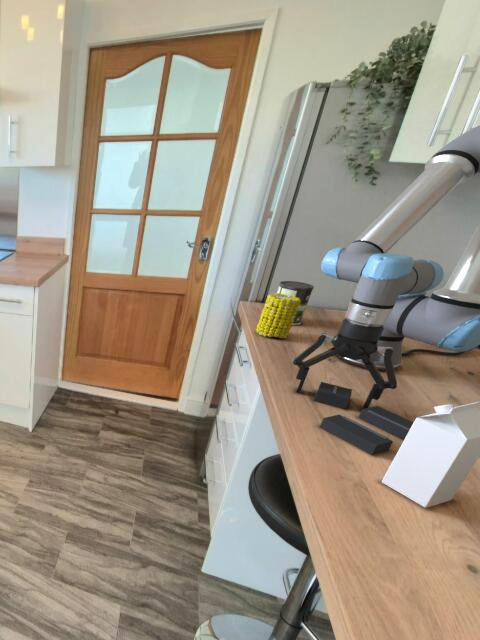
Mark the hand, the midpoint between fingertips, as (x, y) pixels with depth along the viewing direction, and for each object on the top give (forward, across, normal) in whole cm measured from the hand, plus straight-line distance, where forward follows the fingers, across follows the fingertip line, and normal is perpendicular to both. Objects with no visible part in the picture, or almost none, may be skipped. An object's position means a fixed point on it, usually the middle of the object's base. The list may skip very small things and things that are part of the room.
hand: (330, 399), depth 110 cm
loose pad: (0, 0, 0) cm, 0 cm away
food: (0, -21, +42) cm, 47 cm away
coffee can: (0, -20, +62) cm, 65 cm away
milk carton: (0, +16, -31) cm, 34 cm away
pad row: (0, +9, -12) cm, 15 cm away
